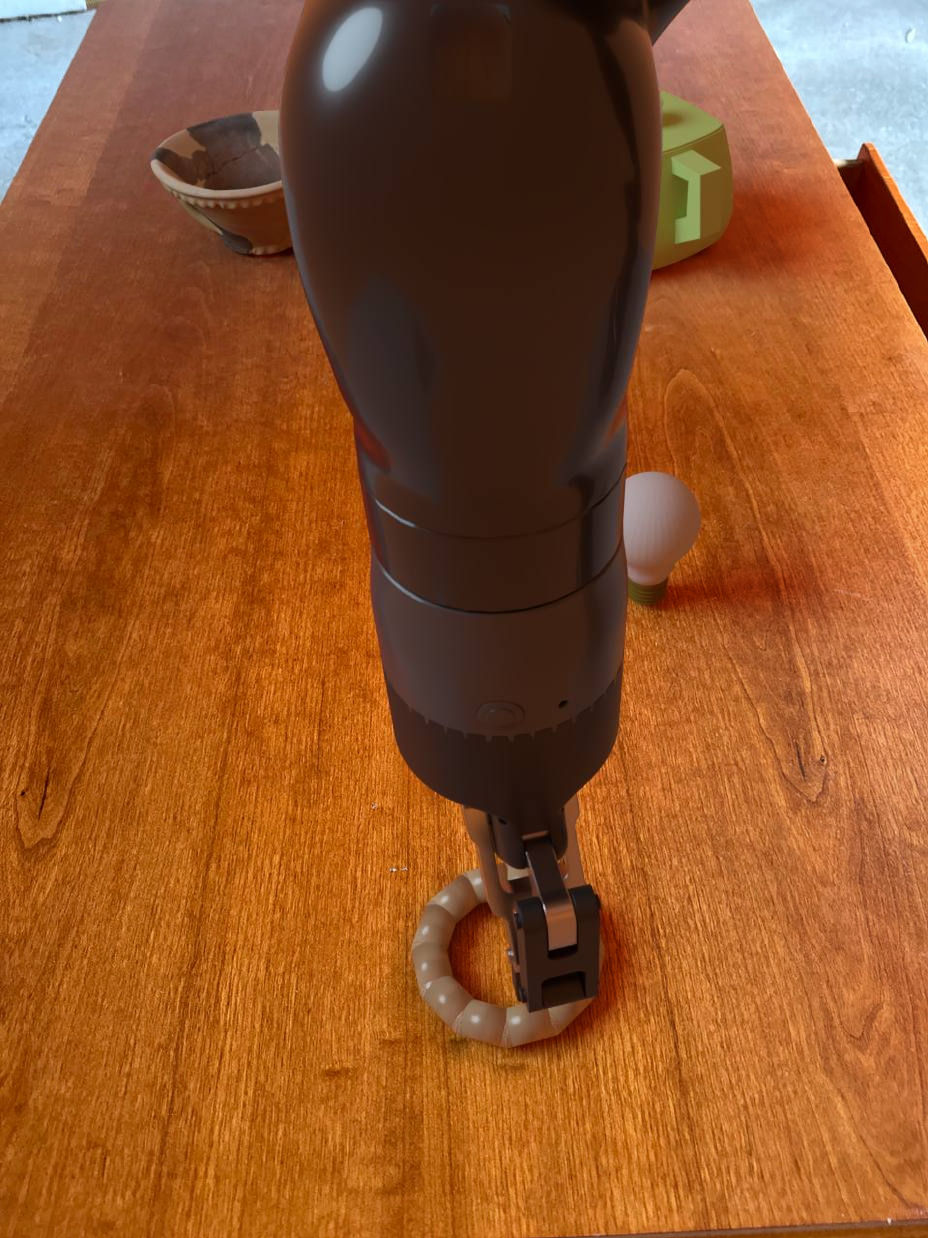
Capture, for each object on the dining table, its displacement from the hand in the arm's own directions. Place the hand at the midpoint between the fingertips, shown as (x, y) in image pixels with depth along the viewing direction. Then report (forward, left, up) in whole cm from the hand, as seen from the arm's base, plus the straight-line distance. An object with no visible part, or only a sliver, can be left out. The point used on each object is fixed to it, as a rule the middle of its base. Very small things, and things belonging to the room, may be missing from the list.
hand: (514, 892), depth 47 cm
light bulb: (-15, -25, -13) cm, 32 cm away
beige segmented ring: (0, -3, -12) cm, 13 cm away
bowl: (+4, -80, -13) cm, 82 cm away
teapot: (-27, -67, -13) cm, 74 cm away
